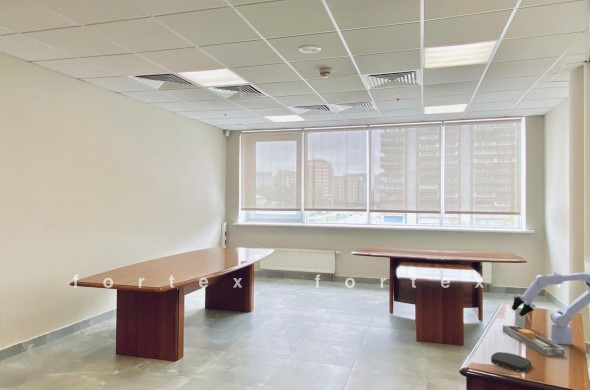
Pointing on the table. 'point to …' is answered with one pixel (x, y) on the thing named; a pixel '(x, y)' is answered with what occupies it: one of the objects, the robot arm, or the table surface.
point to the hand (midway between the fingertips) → (516, 312)
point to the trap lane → (535, 342)
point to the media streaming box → (511, 361)
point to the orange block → (526, 333)
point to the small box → (523, 319)
